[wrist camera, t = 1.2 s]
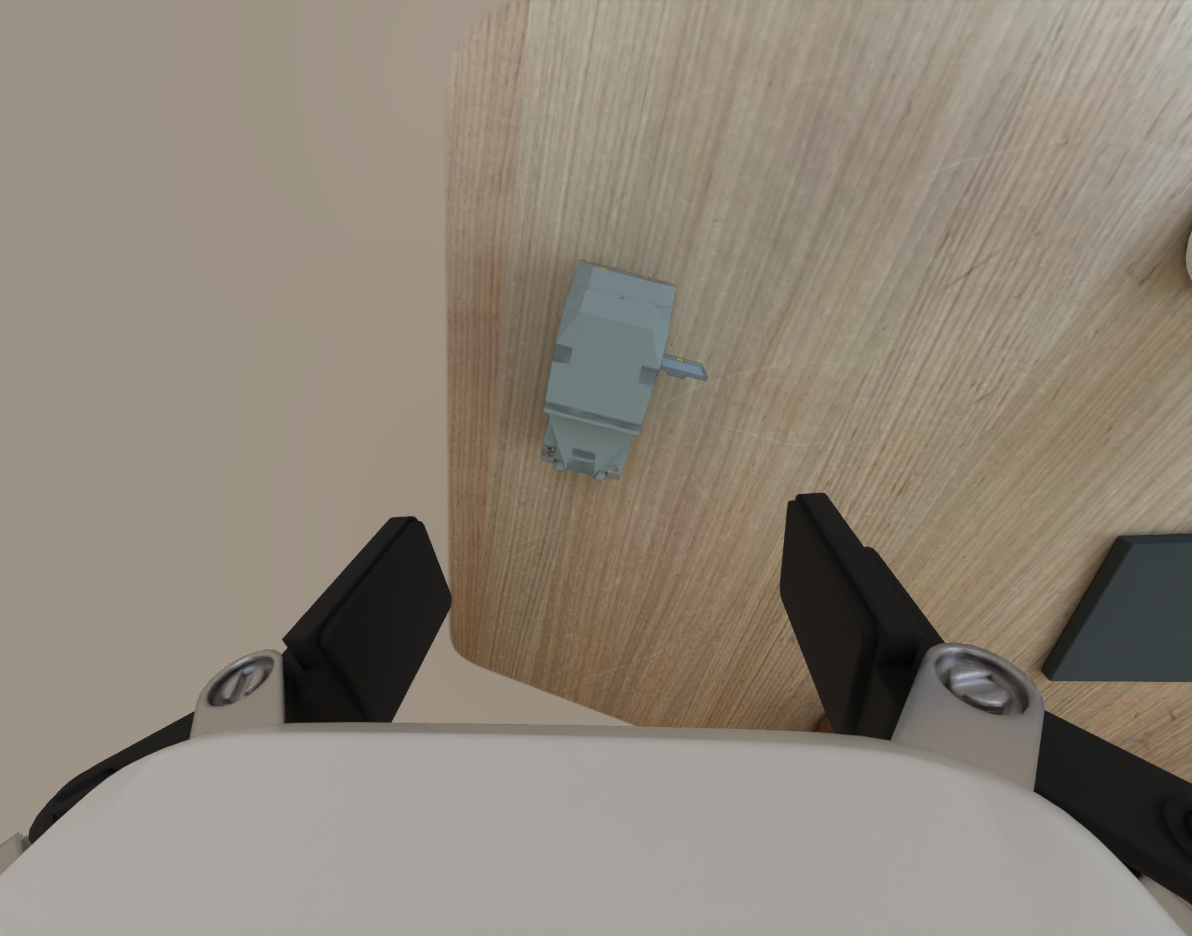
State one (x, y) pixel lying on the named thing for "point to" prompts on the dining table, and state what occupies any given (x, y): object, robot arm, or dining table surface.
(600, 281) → the toy car
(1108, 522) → the dining table surface
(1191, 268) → the cup
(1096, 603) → the mat
